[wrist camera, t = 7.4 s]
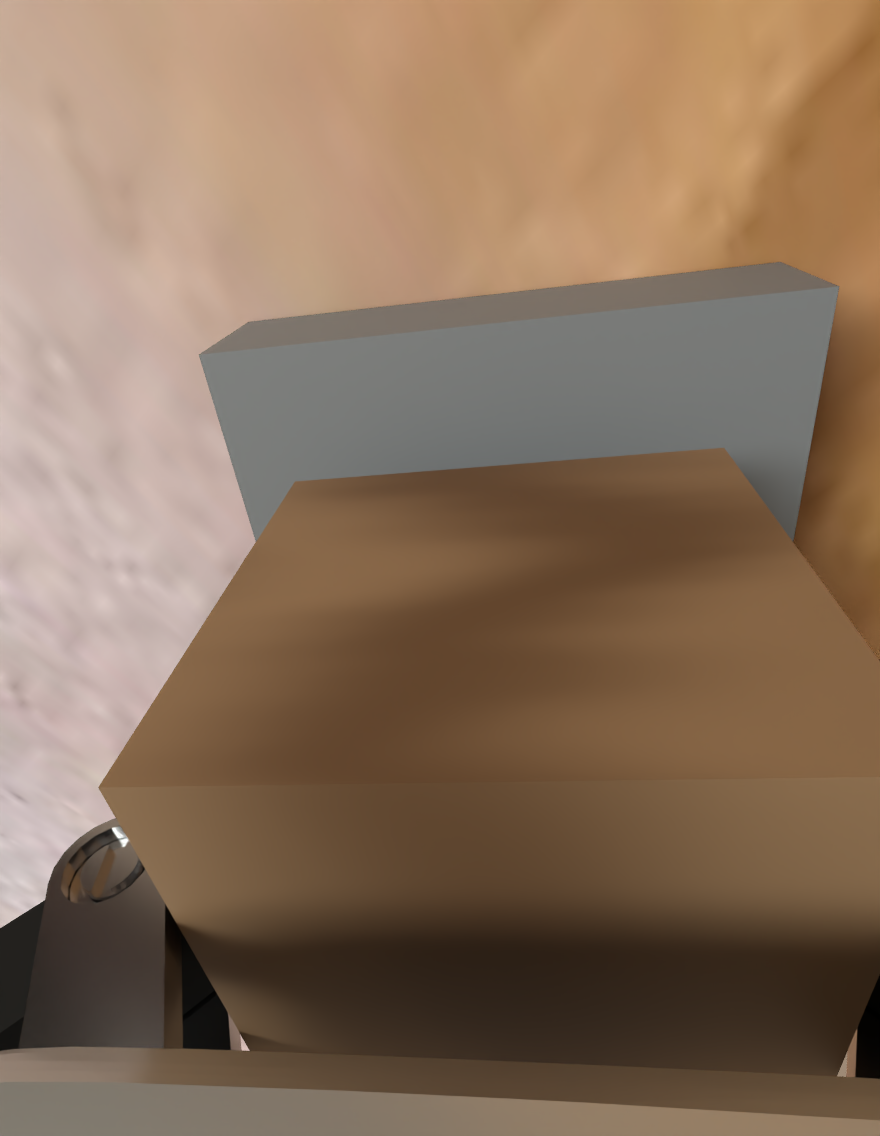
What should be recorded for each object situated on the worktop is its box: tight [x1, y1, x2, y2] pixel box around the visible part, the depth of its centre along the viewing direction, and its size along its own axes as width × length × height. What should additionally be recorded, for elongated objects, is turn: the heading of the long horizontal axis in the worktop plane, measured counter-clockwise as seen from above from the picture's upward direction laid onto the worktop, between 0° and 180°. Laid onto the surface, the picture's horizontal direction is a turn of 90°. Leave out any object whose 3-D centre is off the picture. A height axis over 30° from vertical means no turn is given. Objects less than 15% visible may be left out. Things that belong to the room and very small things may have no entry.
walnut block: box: [98, 448, 880, 1076], centre depth 9 cm, size 6×6×6 cm
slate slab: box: [199, 262, 839, 541], centre depth 14 cm, size 10×10×2 cm
